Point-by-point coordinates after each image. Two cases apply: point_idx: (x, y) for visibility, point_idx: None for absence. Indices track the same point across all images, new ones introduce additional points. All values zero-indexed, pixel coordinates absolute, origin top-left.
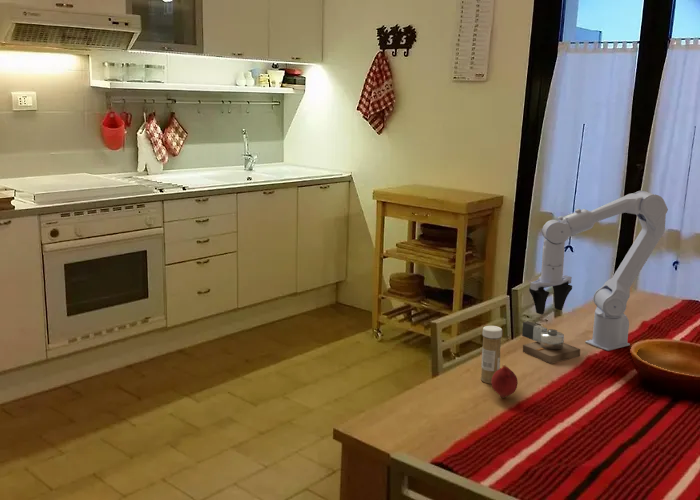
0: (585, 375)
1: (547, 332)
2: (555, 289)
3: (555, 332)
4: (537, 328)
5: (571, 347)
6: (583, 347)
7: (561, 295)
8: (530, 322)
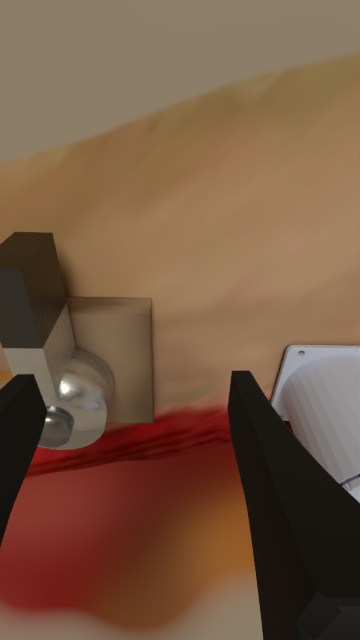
0: (61, 468)
1: (46, 399)
2: (282, 541)
3: (49, 445)
4: (13, 367)
5: (137, 405)
6: (238, 365)
7: (255, 525)
8: (23, 296)
